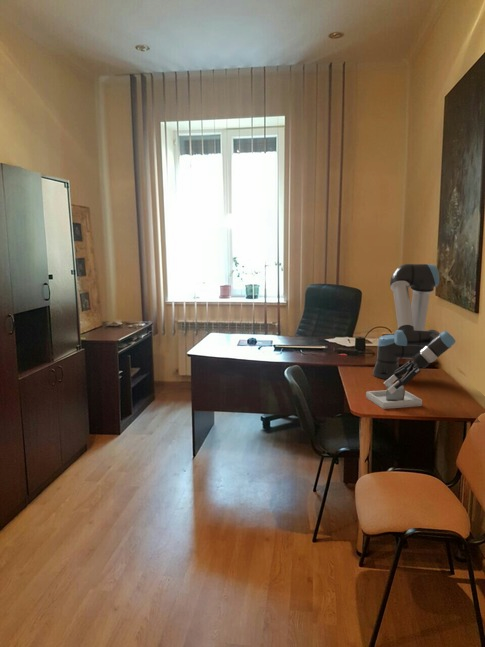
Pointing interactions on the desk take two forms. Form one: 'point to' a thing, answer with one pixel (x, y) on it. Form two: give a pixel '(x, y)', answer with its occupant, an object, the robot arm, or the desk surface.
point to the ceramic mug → (395, 394)
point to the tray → (381, 401)
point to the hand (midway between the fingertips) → (387, 388)
